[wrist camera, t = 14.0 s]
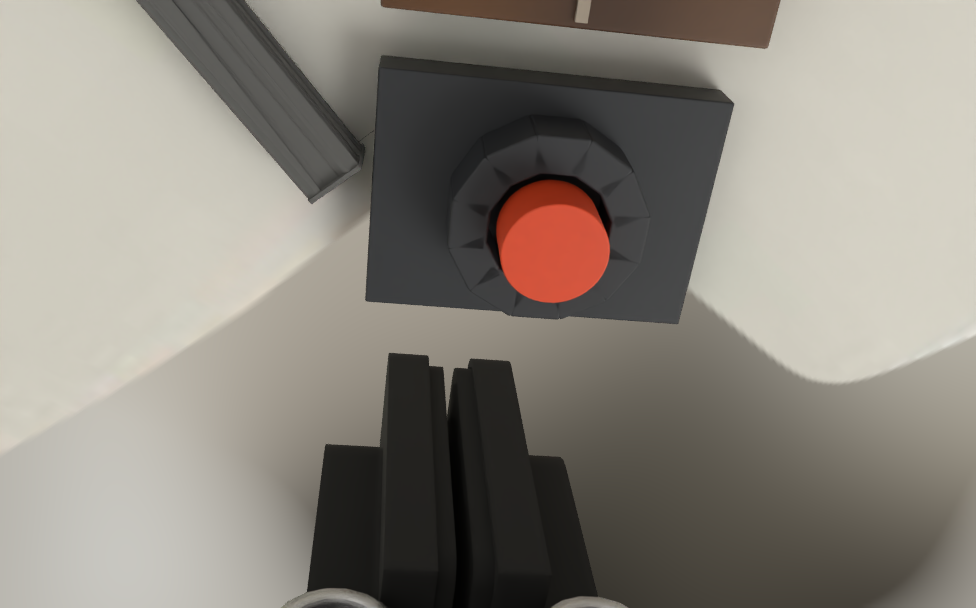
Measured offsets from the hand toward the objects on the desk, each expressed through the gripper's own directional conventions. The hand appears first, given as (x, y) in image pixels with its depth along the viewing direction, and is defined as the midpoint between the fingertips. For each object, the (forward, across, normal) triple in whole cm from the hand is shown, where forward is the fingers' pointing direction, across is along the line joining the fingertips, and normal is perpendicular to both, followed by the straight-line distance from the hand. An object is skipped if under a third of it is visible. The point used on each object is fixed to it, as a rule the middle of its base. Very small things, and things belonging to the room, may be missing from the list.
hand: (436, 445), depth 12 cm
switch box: (+18, -4, +3) cm, 19 cm away
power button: (+15, -4, +3) cm, 16 cm away
